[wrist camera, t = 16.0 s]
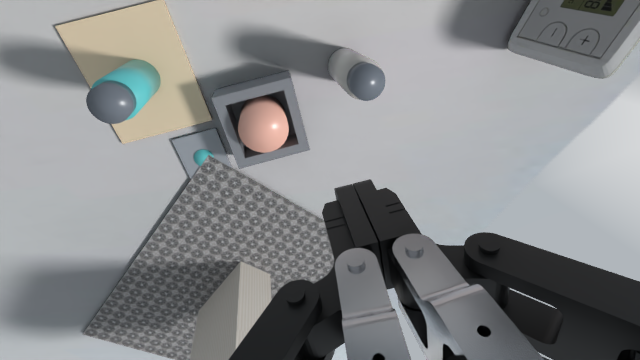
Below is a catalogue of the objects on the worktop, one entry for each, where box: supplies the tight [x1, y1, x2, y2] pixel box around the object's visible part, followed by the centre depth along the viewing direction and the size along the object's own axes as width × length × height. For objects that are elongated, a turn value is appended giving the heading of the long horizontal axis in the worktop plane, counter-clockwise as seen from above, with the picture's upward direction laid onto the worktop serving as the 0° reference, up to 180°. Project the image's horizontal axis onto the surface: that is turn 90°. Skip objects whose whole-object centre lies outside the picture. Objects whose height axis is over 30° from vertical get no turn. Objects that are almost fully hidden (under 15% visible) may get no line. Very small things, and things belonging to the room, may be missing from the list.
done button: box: [238, 95, 289, 153], centre depth 35 cm, size 5×5×4 cm
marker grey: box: [328, 48, 385, 101], centre depth 32 cm, size 4×4×9 cm
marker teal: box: [86, 60, 161, 124], centre depth 29 cm, size 4×4×9 cm
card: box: [172, 128, 232, 179], centre depth 39 cm, size 6×5×1 cm
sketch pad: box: [55, 0, 212, 144], centre depth 33 cm, size 12×10×1 cm
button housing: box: [211, 71, 310, 169], centre depth 36 cm, size 8×8×4 cm
